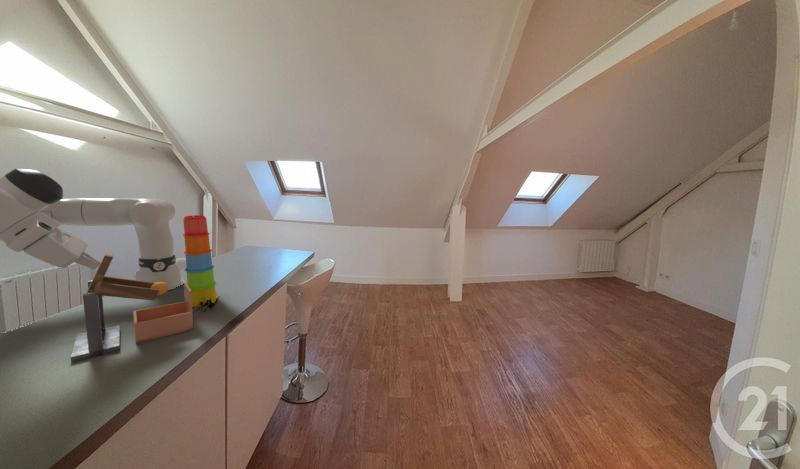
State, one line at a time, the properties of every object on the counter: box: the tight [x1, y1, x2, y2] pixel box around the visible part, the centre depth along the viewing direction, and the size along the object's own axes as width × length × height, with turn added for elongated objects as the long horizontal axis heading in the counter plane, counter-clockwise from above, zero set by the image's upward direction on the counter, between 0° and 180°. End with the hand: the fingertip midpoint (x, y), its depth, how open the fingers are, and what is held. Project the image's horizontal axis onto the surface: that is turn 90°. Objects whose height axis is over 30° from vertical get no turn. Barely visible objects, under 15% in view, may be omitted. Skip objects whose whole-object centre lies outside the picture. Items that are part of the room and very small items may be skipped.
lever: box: [86, 253, 159, 301], centre depth 78 cm, size 10×14×11 cm
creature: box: [194, 295, 221, 312], centre depth 100 cm, size 8×5×8 cm
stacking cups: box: [183, 214, 219, 308], centre depth 104 cm, size 10×10×35 cm
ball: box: [151, 282, 169, 296], centre depth 83 cm, size 4×4×4 cm
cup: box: [132, 281, 194, 344], centre depth 84 cm, size 11×13×13 cm
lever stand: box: [70, 279, 121, 364], centre depth 74 cm, size 15×8×17 cm, turn 46°
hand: (97, 266), depth 73 cm, fingers closed, pressing on lever
